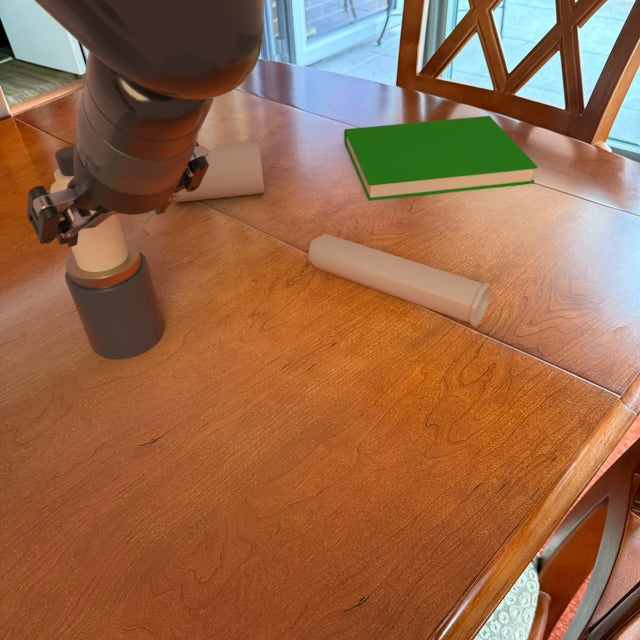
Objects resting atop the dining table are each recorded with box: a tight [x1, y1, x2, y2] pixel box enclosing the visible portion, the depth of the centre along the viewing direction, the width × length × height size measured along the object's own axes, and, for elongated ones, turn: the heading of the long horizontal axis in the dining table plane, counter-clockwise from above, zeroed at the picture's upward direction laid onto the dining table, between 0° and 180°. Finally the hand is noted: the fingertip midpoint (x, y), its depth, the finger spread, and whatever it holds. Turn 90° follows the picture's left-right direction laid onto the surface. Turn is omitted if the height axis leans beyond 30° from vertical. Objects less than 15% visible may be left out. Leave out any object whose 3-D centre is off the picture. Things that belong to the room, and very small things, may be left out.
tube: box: [307, 233, 492, 328], centre depth 78 cm, size 5×5×25 cm
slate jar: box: [64, 238, 165, 360], centre depth 71 cm, size 9×9×12 cm
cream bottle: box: [49, 146, 128, 272], centre depth 63 cm, size 6×6×12 cm
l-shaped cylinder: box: [173, 140, 265, 203], centre depth 100 cm, size 18×10×20 cm
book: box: [343, 115, 538, 201], centre depth 106 cm, size 22×28×3 cm
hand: (112, 220), depth 55 cm, fingers open, 8 cm apart
